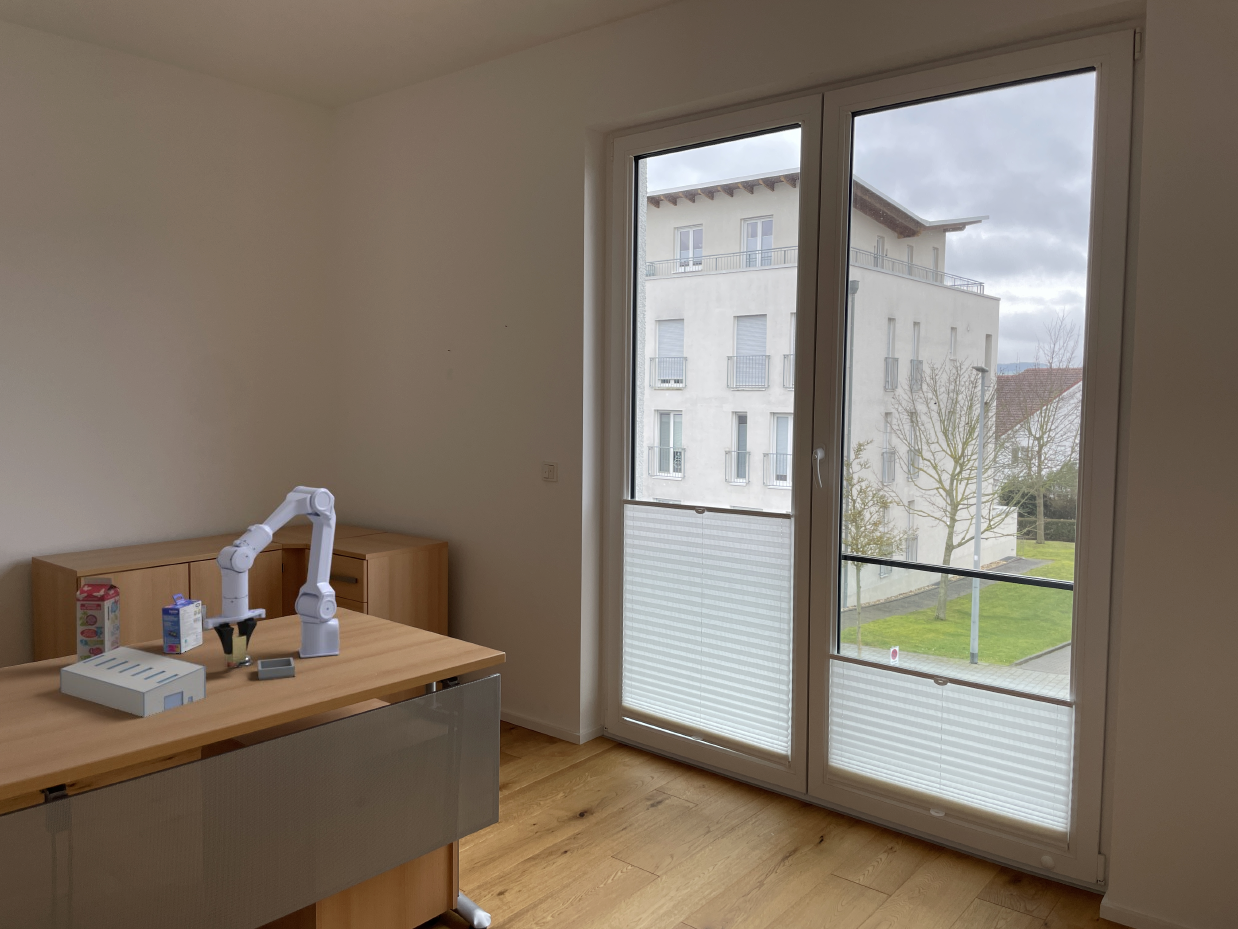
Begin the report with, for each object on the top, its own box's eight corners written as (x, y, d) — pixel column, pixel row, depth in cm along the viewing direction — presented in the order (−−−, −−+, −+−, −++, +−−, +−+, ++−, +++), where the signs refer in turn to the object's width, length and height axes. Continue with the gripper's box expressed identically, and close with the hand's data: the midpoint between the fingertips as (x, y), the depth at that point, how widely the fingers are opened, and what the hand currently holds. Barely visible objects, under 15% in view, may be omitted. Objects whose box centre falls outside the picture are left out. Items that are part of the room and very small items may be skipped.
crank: (236, 658, 219) (236, 644, 219) (252, 658, 219) (252, 644, 219) (221, 669, 210) (221, 654, 210) (237, 669, 210) (237, 655, 210)
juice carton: (93, 661, 216) (91, 574, 215) (120, 662, 216) (119, 575, 215) (77, 669, 209) (76, 580, 208) (105, 670, 210) (104, 580, 208)
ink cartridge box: (184, 643, 235) (183, 590, 234) (203, 644, 234) (203, 591, 233) (161, 653, 225) (160, 598, 224) (181, 654, 224) (181, 599, 223)
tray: (292, 667, 215) (292, 657, 215) (294, 676, 208) (294, 666, 208) (257, 670, 212) (257, 660, 212) (258, 680, 205) (258, 669, 205)
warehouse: (60, 694, 193) (59, 660, 193) (123, 677, 206) (122, 645, 206) (143, 719, 179) (143, 683, 179) (205, 699, 192) (205, 666, 192)
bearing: (252, 660, 220) (252, 658, 220) (253, 666, 216) (253, 664, 216) (230, 662, 218) (230, 660, 218) (230, 668, 214) (230, 666, 214)
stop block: (238, 657, 211) (238, 633, 210) (246, 660, 209) (246, 635, 208) (225, 660, 208) (224, 636, 208) (233, 663, 206) (232, 638, 206)
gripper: (253, 589, 216) (254, 642, 216) (196, 598, 204) (197, 655, 205) (270, 593, 211) (270, 647, 212) (212, 603, 200) (213, 661, 201)
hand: (235, 652), depth 208 cm, fingers closed on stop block, 3 cm apart
